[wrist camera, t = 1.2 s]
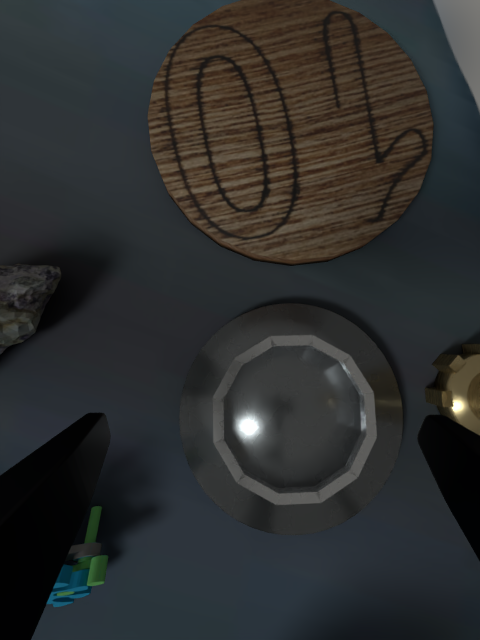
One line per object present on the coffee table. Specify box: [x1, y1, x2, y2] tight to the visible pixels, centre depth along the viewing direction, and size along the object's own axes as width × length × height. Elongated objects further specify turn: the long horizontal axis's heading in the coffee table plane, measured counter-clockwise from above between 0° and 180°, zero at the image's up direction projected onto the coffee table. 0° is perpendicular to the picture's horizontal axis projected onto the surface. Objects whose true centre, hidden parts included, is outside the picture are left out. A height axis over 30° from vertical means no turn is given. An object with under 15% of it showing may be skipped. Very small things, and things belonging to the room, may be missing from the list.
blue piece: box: [47, 506, 108, 607], centre depth 19 cm, size 11×6×10 cm
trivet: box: [148, 0, 433, 266], centre depth 24 cm, size 25×25×2 cm
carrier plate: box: [179, 303, 403, 535], centre depth 22 cm, size 18×18×2 cm
